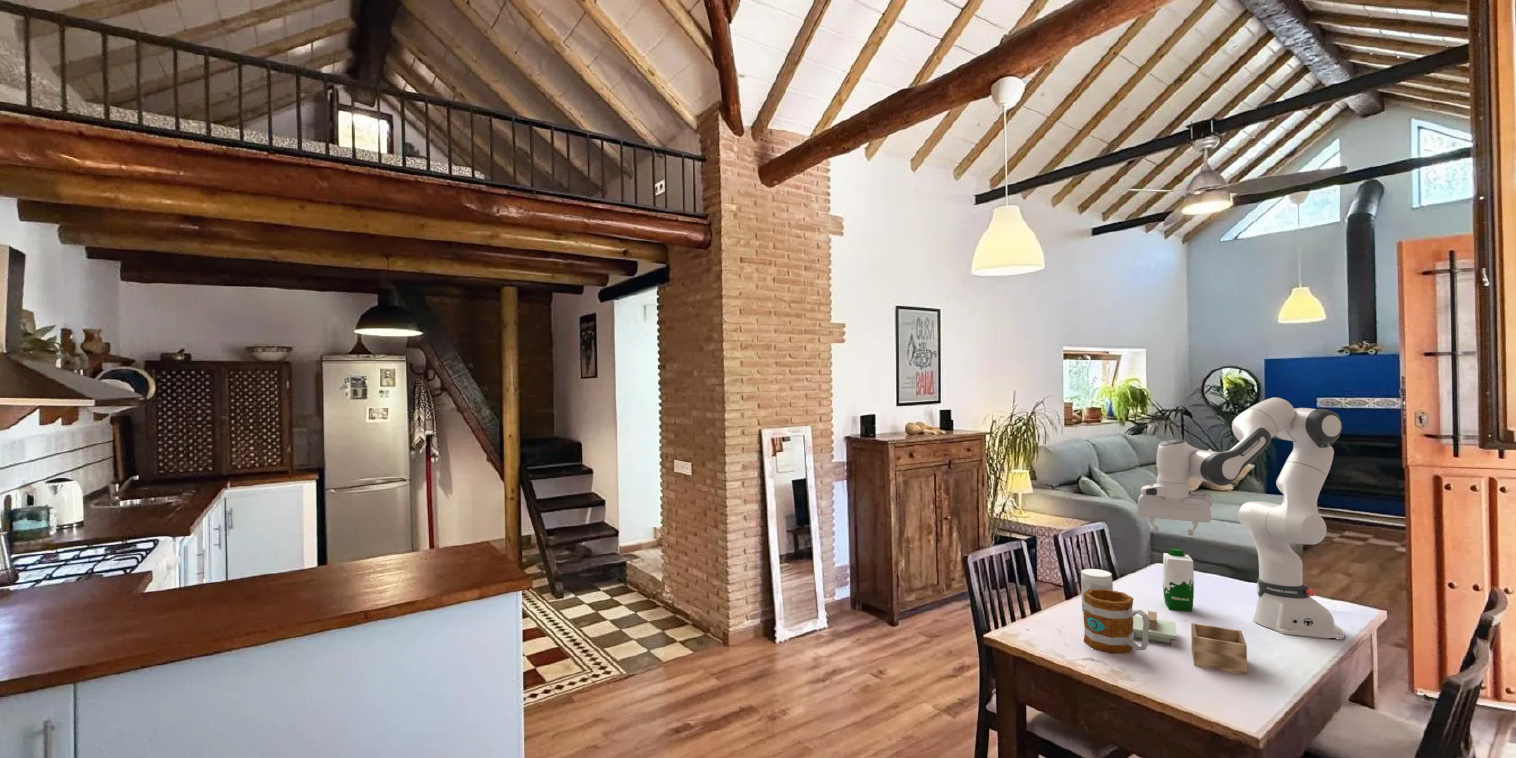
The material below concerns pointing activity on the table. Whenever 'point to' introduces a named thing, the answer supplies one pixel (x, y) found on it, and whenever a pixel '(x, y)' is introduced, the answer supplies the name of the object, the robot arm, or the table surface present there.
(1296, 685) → the table surface
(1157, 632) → the lid
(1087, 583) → the supplement tub
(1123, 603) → the mug
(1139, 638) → the mat
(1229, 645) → the crate
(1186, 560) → the milk carton
